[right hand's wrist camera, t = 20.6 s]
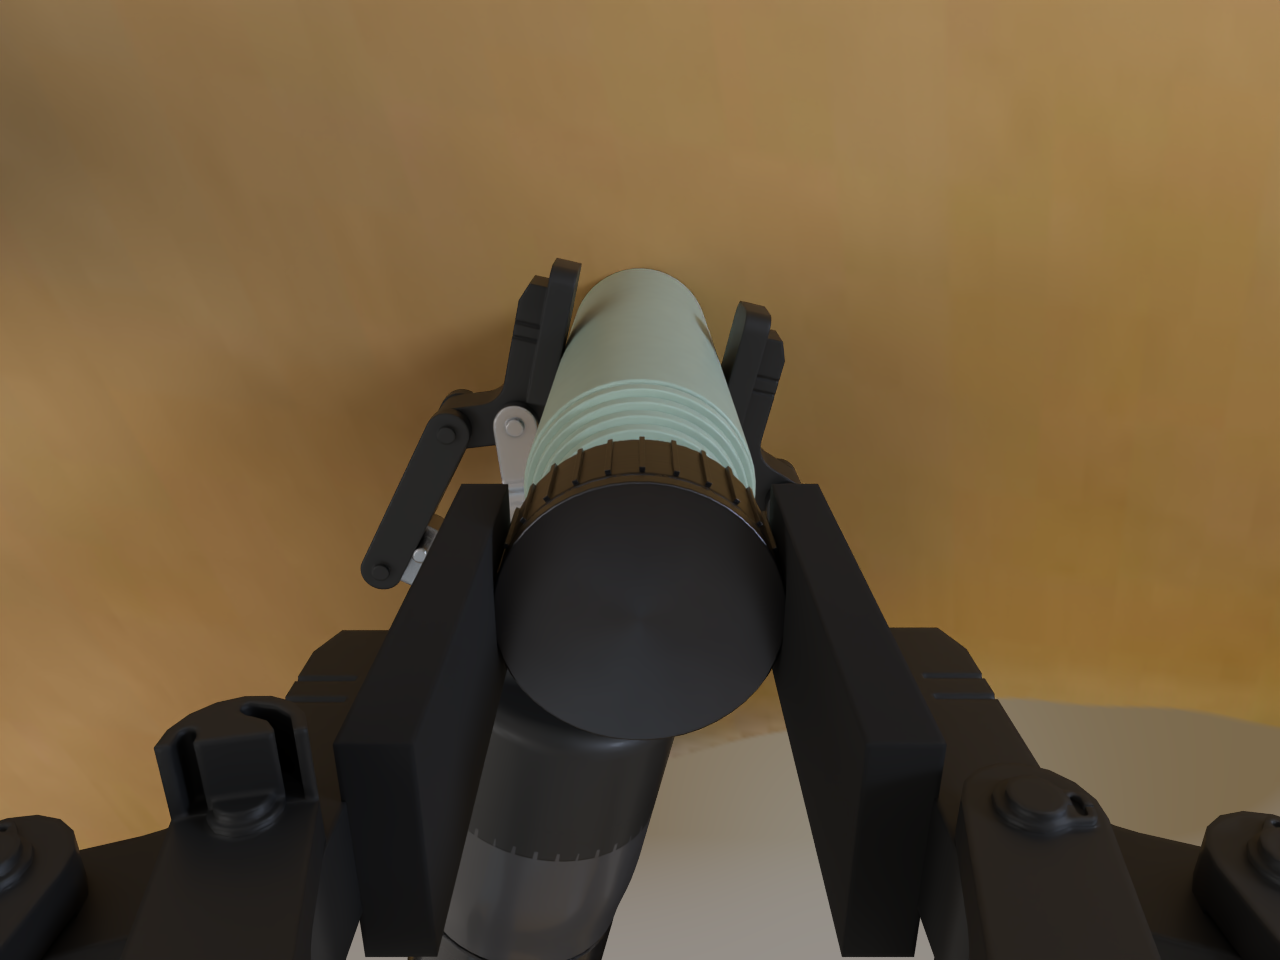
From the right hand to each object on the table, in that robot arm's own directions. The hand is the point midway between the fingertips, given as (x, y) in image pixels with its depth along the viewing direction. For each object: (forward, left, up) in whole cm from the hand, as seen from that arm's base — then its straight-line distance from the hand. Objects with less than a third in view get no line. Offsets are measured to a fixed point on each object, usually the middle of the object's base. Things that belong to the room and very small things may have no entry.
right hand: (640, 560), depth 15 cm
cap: (0, 0, +2) cm, 2 cm away
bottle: (0, 0, -17) cm, 17 cm away
